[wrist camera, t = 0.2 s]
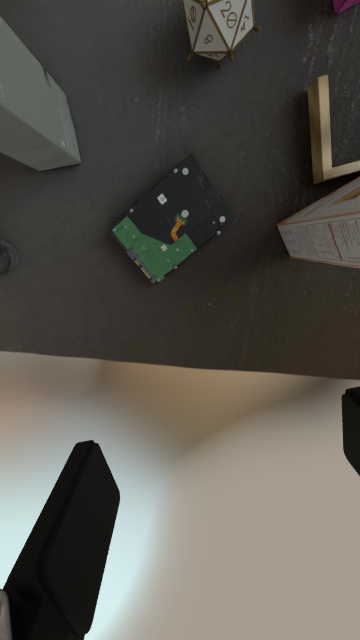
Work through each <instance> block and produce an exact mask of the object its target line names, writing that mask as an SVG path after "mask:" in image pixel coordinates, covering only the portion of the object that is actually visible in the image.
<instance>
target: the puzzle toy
mask: <svg viewBox="0 0 360 640" xmlns="http://www.w3.org/2000/svg"><path fill="white" fill-rule="evenodd" d="M359 2H360V0H333V4H334V10H335V14H339V13H340V12H342V11H344V10H346V9H348V8H349V7H351V6H352V5H355V4H357V3H359Z"/></svg>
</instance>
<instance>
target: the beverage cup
mask: <svg viewBox="0 0 360 640" xmlns="http://www.w3.org/2000/svg"><path fill="white" fill-rule="evenodd" d="M18 263H19V256H18V252H17V250H16V249H15V248H14V246H13V245H12V244H10V243H8V242H6V241H3V240H0V274H3V273H5V272H8V271H10V270H13V269H14V268H15V267H16V266H17V265H18Z"/></svg>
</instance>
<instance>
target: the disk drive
mask: <svg viewBox="0 0 360 640" xmlns="http://www.w3.org/2000/svg"><path fill="white" fill-rule="evenodd" d="M234 222H236V218H235V216H234V215H233V213H232V212H231V211H230V209H229V208H228V206H227V205H226V203H225V202H224V200H223V198H222V197H221V195H220V194H219V192H218V191H217V189H216V188H215V186H214V184H213V183H212V182H211V181H210V180H209V178H208V177H206V174H205V172H204V170H203V168H202V166H201V165H200V163H199V162H198V160H197V159H196V157H195V156H194V154H191V155H189V156H188V157H187V158H186V159H185V160H183V161H182V162H181V163H180V164H179V165H178V166H177V167H176V168H175V169H174V170H173V171H172V172H170V173H169V174H168V175H167V176H166V177H165V178H164V179H163V180H162V181H160V182H159V183H158V184H157V185H156V186H155V187H154V188H153V189H152V190H151V191H149V192H148V193H147V194H146V195H145V196H144V197H143V198H142V199H141V200H139V201H138V202H137V203H136V204H135V205H134V206H132V208H130V209H129V210H128V211H127V212H126V213H125V214H123V215H122V216H121V217H120V218H119V219H118V220H117V221H116V222H115V223H114V224H113V225H112V226H111V227H109V229H108V230H109V231H110V232H111V234H112V235H113V236H114V237H115V239H116V240H117V241H118V242H119V243H120V245H121V246H122V247H123V248H124V250H125V251H127V254H128V255H129V256H130V257H131V258H132V260H134V261H135V263H136V264H137V265H138V266H139V267H140V269H141V270H142V271H143V272H144V273H145V275H146V276H147V277H148V278H149V279H150V281H151V282H152V283H153V284H154V285H157V284H158V283H159V282H160V281H162V280H163V279H164V278H166V277H167V276H169V275H170V274H171V273H172V272H173V271H174V270H176V269H177V268H178V267H179V266H181V265H182V264H183V263H185V262H186V261H187V260H188V259H190V258H191V257H192V256H193V255H194V254H196V253H197V252H198V251H199V250H201V249H202V248H203V247H204V246H206V245H207V244H208V243H210V242H211V241H212V240H213V239H215V238H216V237H217V236H218V235H220V234H221V233H223V232H224V231H225V230H226V229H228V228H229V227H230V226H231V225H232V224H233V223H234Z"/></svg>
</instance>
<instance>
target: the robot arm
mask: <svg viewBox="0 0 360 640" xmlns="http://www.w3.org/2000/svg"><path fill="white" fill-rule="evenodd" d="M342 422H343V449H344V454H345V456H346V458H347V460H348V461H349V462H350V464H351V465H352V466H353V468H354V469H355V470H356V472H357V473H358V474H359V476H360V387H355V388H350V389H347V390H346V391H345V394H343V395H342ZM119 502H120V492H119V489H118V487H117V485H116V482H115V480H114V478H113V476H112V473H111V471H110V469H109V466H108V464H107V462H106V460H105V458H104V455H103V453H102V451H101V448H100V446H99V444H98V443H95V442H94V441H93V440H89V441H84V442H79V443H77V444H76V445H75V446H74V448H73V450H72V452H71V454H70V456H69V458H68V460H67V462H66V464H65V466H64V468H63V470H62V472H61V474H60V476H59V478H58V480H57V482H56V484H55V486H54V488H53V490H52V492H51V494H50V496H49V498H48V500H47V502H46V504H45V506H44V507H43V510H42V512H41V513H40V516H39V517H38V519H37V521H36V523H35V525H34V527H33V530H32V531H31V533H30V535H29V537H28V539H27V541H26V543H25V545H24V547H23V549H22V551H21V553H20V555H19V557H18V559H17V561H16V563H15V565H14V567H13V569H12V571H11V573H10V575H9V577H8V579H7V582H6V583H5V585H4V587H3V589H0V640H84V636H85V634H87V633H88V632H89V630H90V628H91V625H92V622H93V617H94V613H95V608H96V604H97V599H98V595H99V591H100V586H101V582H102V577H103V573H104V568H105V564H106V559H107V555H108V550H109V546H110V542H111V538H112V533H113V529H114V525H115V520H116V516H117V511H118V506H119Z"/></svg>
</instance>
